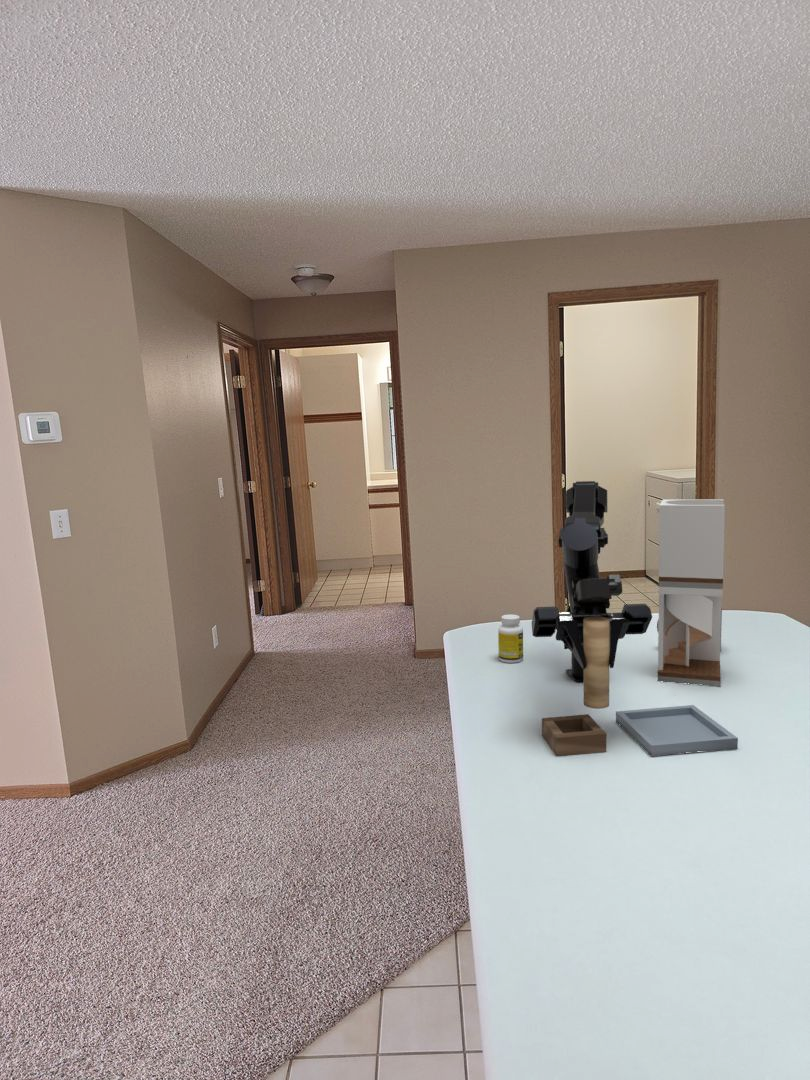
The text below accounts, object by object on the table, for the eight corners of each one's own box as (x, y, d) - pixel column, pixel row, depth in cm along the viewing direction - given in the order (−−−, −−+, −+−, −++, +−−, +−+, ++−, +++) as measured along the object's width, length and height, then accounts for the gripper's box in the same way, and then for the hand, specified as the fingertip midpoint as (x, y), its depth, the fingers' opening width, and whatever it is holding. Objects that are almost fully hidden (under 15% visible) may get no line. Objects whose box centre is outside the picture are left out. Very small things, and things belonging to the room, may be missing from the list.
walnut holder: (541, 735, 122) (541, 718, 122) (588, 731, 123) (588, 714, 123) (556, 756, 115) (556, 737, 114) (606, 751, 115) (606, 733, 115)
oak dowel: (580, 700, 120) (579, 617, 118) (603, 698, 121) (603, 615, 118) (588, 709, 116) (588, 623, 114) (613, 707, 117) (613, 622, 115)
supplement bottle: (522, 663, 159) (522, 620, 158) (497, 663, 160) (496, 619, 159) (524, 656, 164) (523, 613, 163) (499, 655, 165) (498, 613, 164)
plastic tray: (615, 721, 127) (615, 711, 127) (693, 714, 128) (693, 705, 128) (651, 756, 113) (651, 745, 113) (737, 748, 114) (737, 738, 114)
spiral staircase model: (657, 681, 145) (659, 505, 140) (660, 664, 155) (662, 499, 150) (720, 687, 141) (724, 505, 136) (719, 669, 151) (723, 499, 145)
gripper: (532, 559, 119) (543, 645, 110) (649, 555, 118) (670, 641, 109) (527, 595, 128) (537, 677, 119) (635, 591, 127) (653, 674, 118)
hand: (598, 667), depth 116 cm, fingers closed on oak dowel, 4 cm apart
